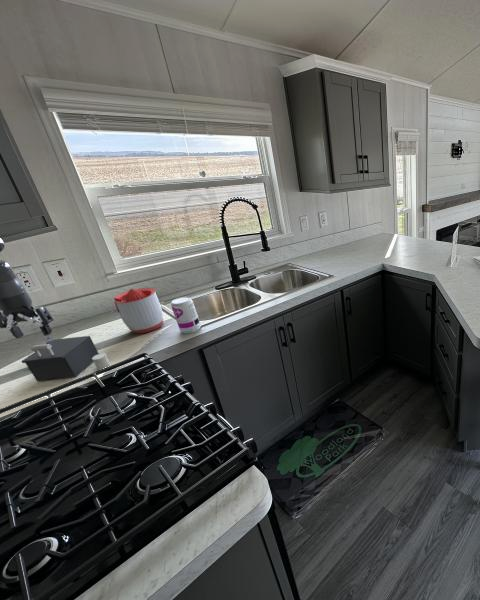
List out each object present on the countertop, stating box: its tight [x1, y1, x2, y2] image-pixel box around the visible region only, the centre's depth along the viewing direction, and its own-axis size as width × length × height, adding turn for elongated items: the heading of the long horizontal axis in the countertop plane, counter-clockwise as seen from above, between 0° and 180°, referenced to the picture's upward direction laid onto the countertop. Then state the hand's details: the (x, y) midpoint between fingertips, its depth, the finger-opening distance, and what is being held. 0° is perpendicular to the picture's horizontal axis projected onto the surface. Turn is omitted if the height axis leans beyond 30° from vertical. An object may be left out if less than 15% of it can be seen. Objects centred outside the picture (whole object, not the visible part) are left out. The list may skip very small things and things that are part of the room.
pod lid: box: [21, 335, 91, 364], centre depth 120 cm, size 14×13×5 cm
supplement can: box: [170, 296, 202, 334], centre depth 147 cm, size 8×8×15 cm
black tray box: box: [25, 337, 100, 382], centre depth 124 cm, size 14×13×9 cm
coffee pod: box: [92, 352, 112, 371], centre depth 124 cm, size 4×4×5 cm
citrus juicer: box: [111, 287, 164, 335], centre depth 148 cm, size 16×17×20 cm
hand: (34, 335), depth 113 cm, fingers open, 8 cm apart
